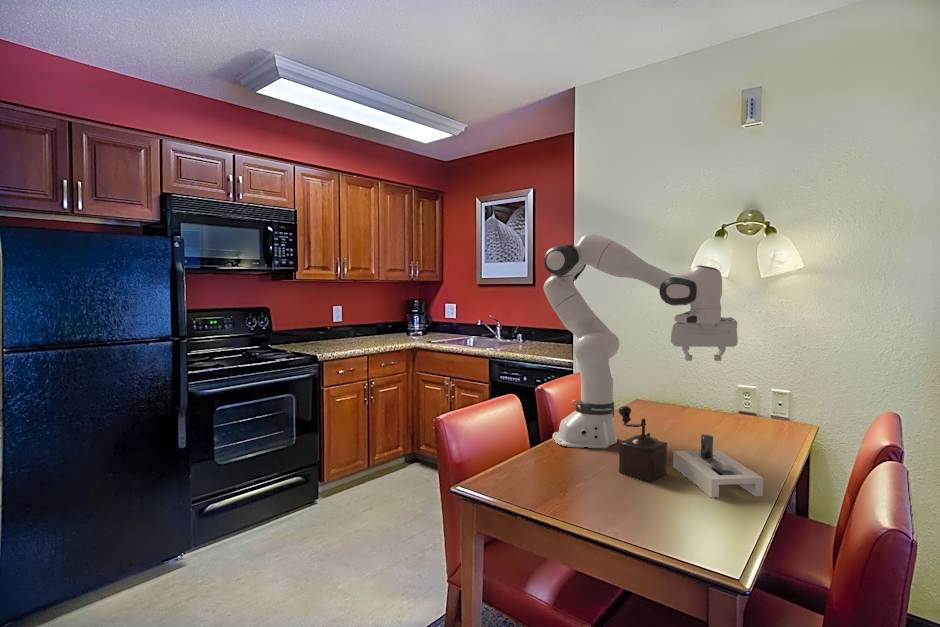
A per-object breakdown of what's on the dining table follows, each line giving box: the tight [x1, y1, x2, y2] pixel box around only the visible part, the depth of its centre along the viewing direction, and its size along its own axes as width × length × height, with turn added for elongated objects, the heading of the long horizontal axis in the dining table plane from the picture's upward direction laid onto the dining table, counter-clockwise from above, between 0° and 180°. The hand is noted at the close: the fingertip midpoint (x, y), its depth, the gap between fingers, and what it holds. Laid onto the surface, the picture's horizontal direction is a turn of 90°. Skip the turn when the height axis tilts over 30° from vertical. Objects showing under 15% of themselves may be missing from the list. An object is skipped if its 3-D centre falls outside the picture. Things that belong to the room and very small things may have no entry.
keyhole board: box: [672, 449, 764, 499], centre depth 145 cm, size 14×22×5 cm, turn 3°
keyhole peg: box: [700, 434, 717, 473], centre depth 149 cm, size 5×5×12 cm
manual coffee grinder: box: [618, 405, 668, 483], centre depth 152 cm, size 16×11×18 cm
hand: (703, 360), depth 161 cm, fingers open, 8 cm apart
